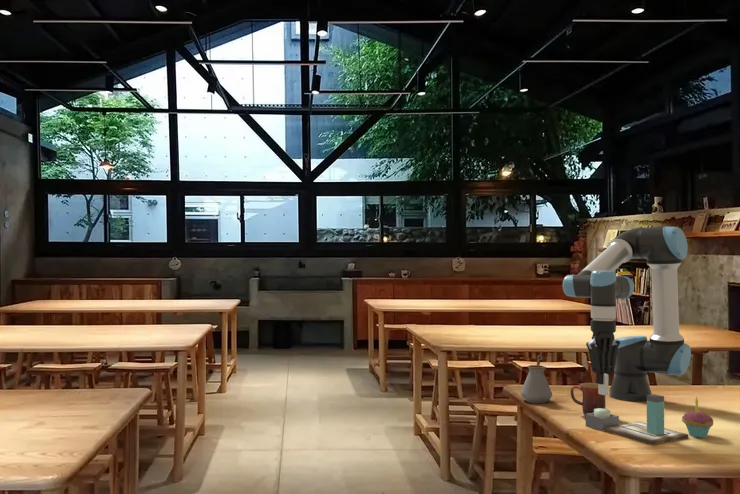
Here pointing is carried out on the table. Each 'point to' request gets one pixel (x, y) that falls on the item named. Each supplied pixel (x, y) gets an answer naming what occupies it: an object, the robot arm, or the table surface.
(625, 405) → the table surface
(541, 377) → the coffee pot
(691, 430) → the donut
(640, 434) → the picture frame
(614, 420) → the button frame
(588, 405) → the mug
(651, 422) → the grey and mint block
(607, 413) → the button
